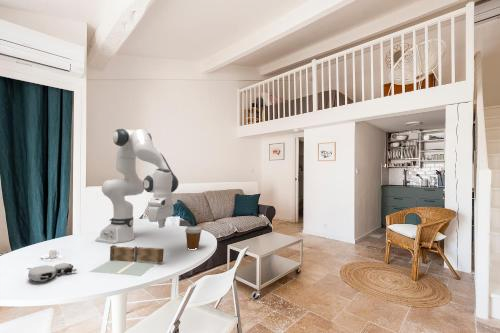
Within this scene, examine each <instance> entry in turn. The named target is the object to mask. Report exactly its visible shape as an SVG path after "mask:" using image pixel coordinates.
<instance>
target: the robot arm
mask: <svg viewBox="0 0 500 333" xmlns="http://www.w3.org/2000/svg"><path fill="white" fill-rule="evenodd" d="M112 135H113V136H112V139H113V143H114V144H115V145H116V146H118V148H117V152H116V164H115V169H116V171H117V172H119V173H120V174H121V175H123V176H124V178H113V179H108V180H104V182H103V183H102V186H101V192H102V194H103V195H104V196H105V197H107V198H108V199H109V200H110V202H111V204H112V205H113V206H112V207H113V208H112V209H113V217H112V218H110V219H109V222H110V223H109V224H108V225H107V226H105V227H104V228H103V229H101V231H100V234H99V236H98V237H96V238H95V242H102V243H107V244H118V243H126V242H131V241H133V240H135V234H134V215H133V214H134V205H133V204H132V203H131V202H130V201H127V200H126V198H125V197H126V196H129V197H130V196H137V195H140V194H141V195H142V194H143V193H144V191H146V192H147V193H151V194H152V193H153V197H152V198H150V200H149V201H148V204H147V205H148V206H149V207H148V212H147V213H148V214H147V215H148V221H149V222H150V223H151V222H152V223H156V222H157V224H158V228H159V229H163V228H164V227H165V226H166V221H167V218H169V217H172V216H174V202H173V201H172V199H173V198H172V197H173V196H172V193H174V192H175V191H176V190H177V189H178V188H179V180H178V178H177V176H176V175H175V174H174V172H173V171H172V169H171V166H170V165H169V164H168V162H167V160H166V158H165V156H164V155H163V154H162V153H161V152H159V150H158V149H157V148H156V147H155V145H154V144H153V143H154V142H153V139H152V138H153V137H152V135H151V133H149V132H147V131H146V130H145V129H142V128H139V129H127V128H126V129H124V128H118V129H116V130H115V131H114V132H113V134H112ZM137 158H138V159H139V160H140V161H143V162H146V163H149V164H152V165H155V166H156V167H157V168H156V169H155V171H154V172H153V173H151V174H150V175H148V174H147V176H145V177H144V179H143V180H142V179H140V177H139V176H138V174H137V170H136V163H137V162H136V161H137Z"/></svg>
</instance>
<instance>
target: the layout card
mask: <svg viewBox="0 0 500 333" xmlns="http://www.w3.org/2000/svg"><path fill="white" fill-rule="evenodd" d="M156 264H158V262H148V261H137V262H134V261H133V262H126V261H110V260H108V261H107V262H105V263H103V264H101V265H99V266H97V267H95V268H94V269H92V270H90V271H89V273H99V274H101V273H102V274H111V275H112V274H114V275H124V276H133V277H134V276H135V277H137V276H138V277H141V276H142V275H144V274H145V273H147V272H148V271H149V270H150V269H151V268H153V267H154V266H156Z"/></svg>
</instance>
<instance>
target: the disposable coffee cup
mask: <svg viewBox="0 0 500 333" xmlns="http://www.w3.org/2000/svg"><path fill="white" fill-rule="evenodd" d="M202 231H203V230H202V227H200V226H187V227H186V228H185V230H184V232H185V234H186V235H185V236H186V248H189V249H195V248H198V249H199V246H200V245H199V244H200V241H201V233H202Z"/></svg>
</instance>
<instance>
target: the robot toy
mask: <svg viewBox="0 0 500 333" xmlns="http://www.w3.org/2000/svg"><path fill="white" fill-rule="evenodd" d="M26 269H27V270H28V279H29V280H32V281H34V282H40V283H43V282H46V281H47V280H50V279H53V278H54V277H55V276H60V275H64V274H72V273H74V272H76V271H77V270H78V268H74V265H73V264H71V263H66V262H63V263H59V264H55V265H54V266H52V265H48V264H47V265H39V266H35V267H31V268H29V267H27V268H26Z"/></svg>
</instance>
